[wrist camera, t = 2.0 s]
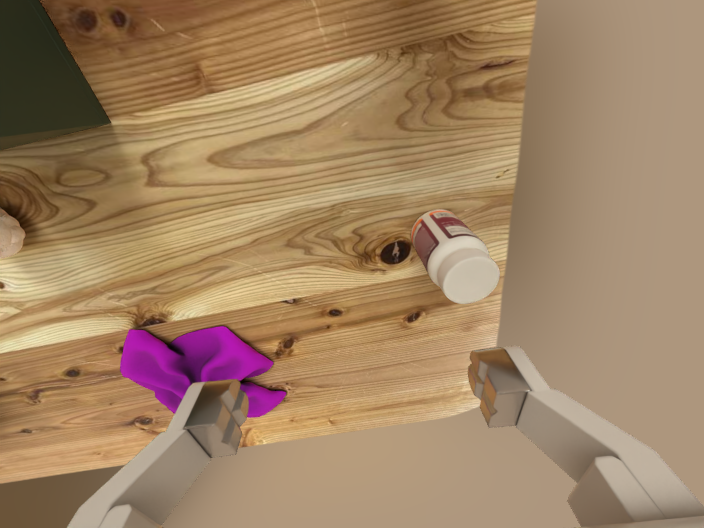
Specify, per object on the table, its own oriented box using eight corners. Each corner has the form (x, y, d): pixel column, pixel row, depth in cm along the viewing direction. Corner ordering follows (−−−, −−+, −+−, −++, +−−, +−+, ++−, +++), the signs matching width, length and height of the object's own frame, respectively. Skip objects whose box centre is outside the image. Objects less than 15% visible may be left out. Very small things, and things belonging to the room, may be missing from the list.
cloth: (90, 330, 31) (40, 379, 26) (255, 311, 30) (238, 356, 25) (178, 435, 43) (156, 483, 37) (298, 422, 42) (293, 468, 37)
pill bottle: (426, 261, 28) (456, 318, 21) (400, 228, 26) (424, 279, 19) (468, 234, 27) (516, 285, 20) (445, 197, 25) (489, 239, 18)
